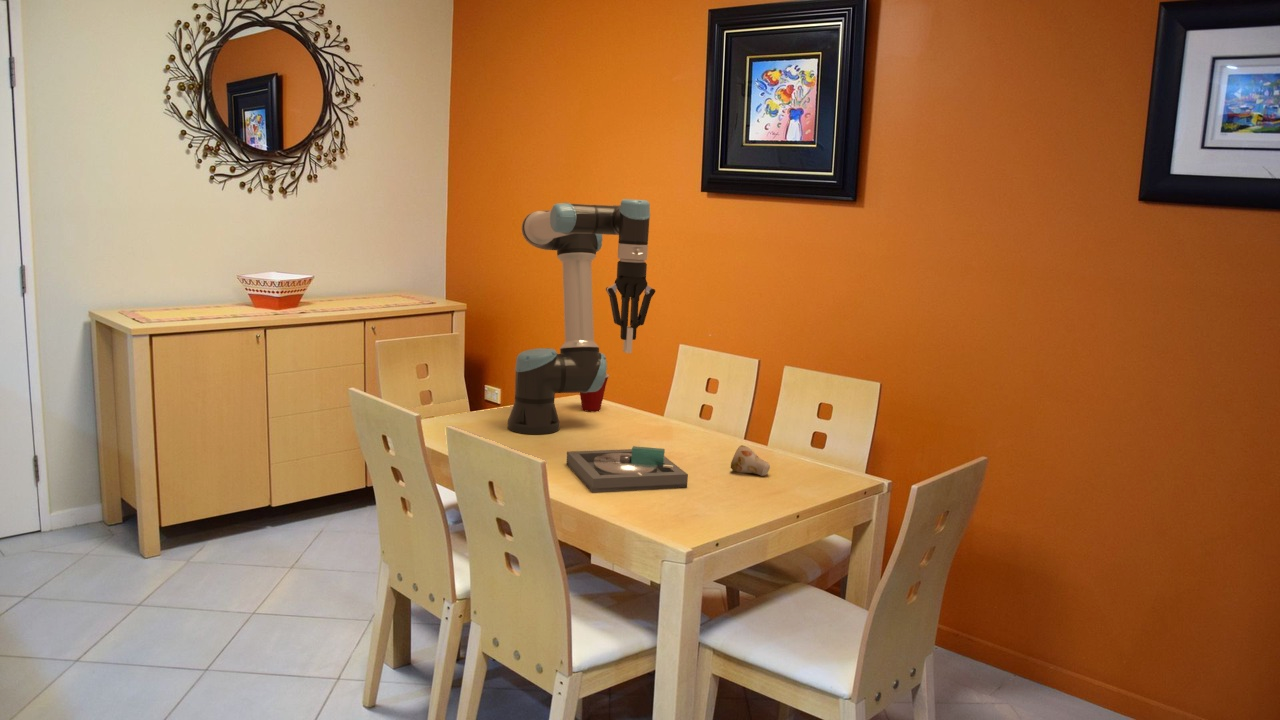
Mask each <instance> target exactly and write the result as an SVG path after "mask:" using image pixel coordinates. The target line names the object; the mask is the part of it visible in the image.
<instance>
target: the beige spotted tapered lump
mask: <svg viewBox="0 0 1280 720" xmlns="http://www.w3.org/2000/svg"><path fill="white" fill-rule="evenodd" d="M770 468H771V465H770V464H769V462H768V461H767V460H764V459H762V458H760V457H759V455H757V454H756V453H755V452H754V451H753V449H751V448H750V447H749V446H746V445H742V444H741V445H739V446H738V447H737V449H736V450H735V453H734V455H733V457H732V459H731V462H730V469H731V470H732V471H734V472H736V473H740V474H756V475H758V476H760V477H765V476H766V475H767V474H768V473H769V471H770Z"/></svg>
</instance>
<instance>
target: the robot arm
mask: <svg viewBox="0 0 1280 720" xmlns="http://www.w3.org/2000/svg"><path fill="white" fill-rule="evenodd" d="M650 210H651V208H650V202H649V201H648V200H646V199H631V198H630V199H629V198H623V199H622V200H621V201H620V204H619V205H618V204H617V205H616V204H615V205H614V204H613V205H603V204H581V203H570V202H563V203H555V204H553V205H552V207H551V210H537V211H533V212H530V213H529V214H528V215H526V216H525V218H524V219H523V221H522V224H521V232H522V233H521V234H522V235H523V239H525V241H526V242H527V243H528V244H529V245H531V246H532V247H535V248H537V249H540V250H545V251H556V253H557V254H556V255H557V256H556V257H557V259H558V260H559V261H560V262H561V263H562V288H563V289H562V290H563V314H564V315H563V316H564V343H563V344H562V345H561V346H560V348H559V349H560V350H559V351H560V353H558V352H557V351H556V349H554V348H543V347H542V348H541V347H539V348H533V349H528V350H524V351H521V352H519V354H518V355H517V357H516V361H515V368H514V371H515V376H514V378H515V379H514V401H513V402H514V404H513V406H512V409H511V411H510V414H509V416H508V418H507V419H508V420H507V429H508V430H509V431H512V432H515V433H519V434H524V435H548V434H552V433H553V434H554V433H557V432H558V431H559V430H560V419H559V415H558V412H557V411H558V410H557V409H556V404H555V399H556V398H555V396H556V394H576V393H577V394H580V393H587V392H596V391H598V390H599V389H600V388H601V387H602V385H603V383H604V381H605V377H606V374H607V371H608V369H607V367H608V364H607V362H608V361H607V360H606V359H607V358H606V355H605V354H604V353H602V352H600V346H599V345H598V344H597V343H596V342H595V339H594V337H595V335H594V333H595V332H594V308H593V275H592V262H593V261H594V259H595V258H596V257H597V252H599V251H600V250H601V249H602V246H603V235H606V236H607V235H610V236H611V235H613V236H618V249H617V259H619V260H618V262H617V264H616V265H617V267H616V279H615V280H614V284H612V285H611V286H607V287H606V288H605V292H606V293H607V294H608V296H609V302H610V307H611V312H612V317H613V323H614V324H615V325H617V326H619V327H620V339H621V340H622V341H623V347H622V348H623V349H622V352H623V353H625V354H632V353H633V341H635V340H636V339H637V329H638V328H639V327H640V326H644V324H645V321H646V318H647V314H648V310H649V308H650V305H651V300H652V298H653V296H654V294H655V293H656V289H654V288H652V287H651V286H649V285H648V280H647V269H648V268H647V267H648V266H647V265H648V264H647V262H646V261H647V260H648V247H649V245H648V244H649V242H648V241H649V231H650V218H651V211H650ZM617 292H619V294H620V295H621V297H620V298H621V299H620V300H621V308H619V302H618V297H617ZM643 292H644V295H643V296H642V297H643V298H642V302H641V305H640V309H639V303H640V297H641V295H642V293H643ZM629 309H630V310H629ZM620 310H621V311H620ZM629 312H630V318H629Z"/></svg>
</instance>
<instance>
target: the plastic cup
mask: <svg viewBox="0 0 1280 720" xmlns="http://www.w3.org/2000/svg"><path fill="white" fill-rule="evenodd" d="M609 378H610V375H609V374H608V373H606V377H605V381H604V383H603V385H602V387H601V388H600V389H599V390H598V391H596V392H587V393H579V395H580V397H579V398H580V402H581V403H580V404H581V409H583V410H584V412H587V411H598V412H599V410H600V411H601V408H602V403H603V399H604V395H605V390H606V386H607V383H608V379H609ZM583 410H582V411H583Z"/></svg>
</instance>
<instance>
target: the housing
mask: <svg viewBox="0 0 1280 720" xmlns="http://www.w3.org/2000/svg"><path fill="white" fill-rule="evenodd" d="M609 453H632V448H631V449H630V448H629V449H628V448H627V449H625V448H624V449H605V450H603V449H601V450H576V451H566V466H567V467H568V468H569V469H570V470H571V471H572V472H573V473H574V474H575V476H576V477H578V479H579V480H580V481H581V482H582V483H583V484H584V485H585V486H586V487H587V488H588V489H589V490H590V492H591V493H592V494H593V493H608V492H609V493H610V492H613V493H614V492H630V491H631V492H633V491H649V490H651V491H652V490H668V489H669V490H670V489H687V488H688V481H689V480H688V478H689V477H688V475H689V474H688V473H687V472H686V471H684V470H683V469H682V468H680V467H679V466H678V465H677V464H676V463H674V461H671V460H670V459H669V458H668V457H666V456H665V455H664V465H663V466H661V465H657V473H637V474H616V475H600V474H599V473H598V472H597V471H596V470H595V469H594V468H593V467H594V459H595V458H596V457H597V456H600V455H603V454H609Z"/></svg>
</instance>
